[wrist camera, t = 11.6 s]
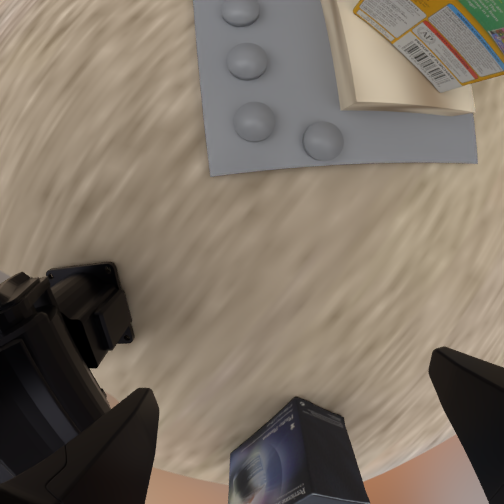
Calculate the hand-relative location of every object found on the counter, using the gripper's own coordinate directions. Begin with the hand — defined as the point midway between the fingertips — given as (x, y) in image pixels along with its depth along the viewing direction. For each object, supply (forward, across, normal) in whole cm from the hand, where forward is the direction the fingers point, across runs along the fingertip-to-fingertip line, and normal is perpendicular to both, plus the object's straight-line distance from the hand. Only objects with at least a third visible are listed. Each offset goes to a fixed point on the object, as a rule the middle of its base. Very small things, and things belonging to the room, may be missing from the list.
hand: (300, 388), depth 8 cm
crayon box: (+9, -10, -14) cm, 19 cm away
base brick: (+13, -10, -14) cm, 22 cm away
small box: (+13, 0, +18) cm, 22 cm away
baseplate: (+13, -7, -13) cm, 20 cm away
